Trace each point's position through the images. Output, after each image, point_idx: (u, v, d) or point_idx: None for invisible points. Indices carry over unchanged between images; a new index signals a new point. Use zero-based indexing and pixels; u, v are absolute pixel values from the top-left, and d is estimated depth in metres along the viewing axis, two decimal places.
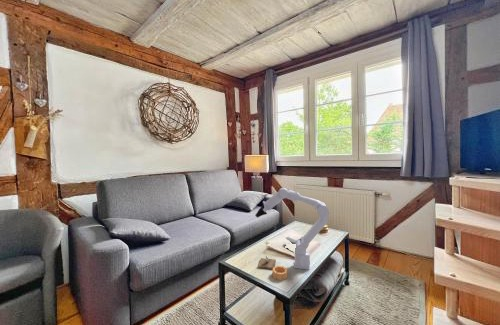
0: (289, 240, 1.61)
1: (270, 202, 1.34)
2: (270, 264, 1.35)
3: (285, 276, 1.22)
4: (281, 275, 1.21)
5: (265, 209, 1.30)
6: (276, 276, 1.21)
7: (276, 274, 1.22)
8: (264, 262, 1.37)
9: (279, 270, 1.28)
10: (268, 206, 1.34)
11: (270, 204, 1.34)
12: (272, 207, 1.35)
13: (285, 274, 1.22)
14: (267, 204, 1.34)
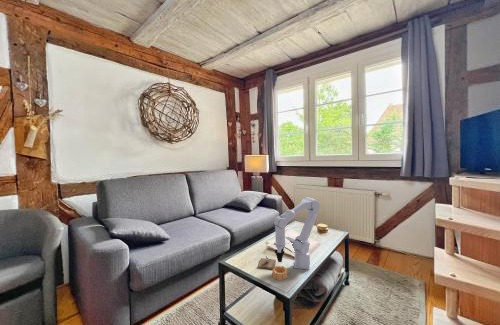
0: (289, 240, 1.62)
1: (278, 239, 1.25)
2: (270, 264, 1.35)
3: (285, 276, 1.22)
4: (281, 275, 1.21)
5: (279, 250, 1.20)
6: (276, 276, 1.21)
7: (276, 274, 1.22)
8: (264, 262, 1.37)
9: (279, 270, 1.28)
10: (280, 244, 1.25)
11: (280, 241, 1.24)
12: (284, 241, 1.25)
13: (285, 274, 1.22)
14: (278, 243, 1.25)
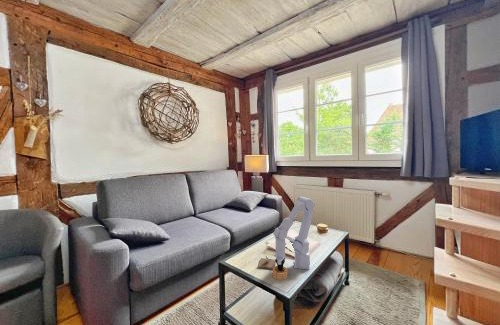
0: (289, 239, 1.62)
1: (278, 251, 1.25)
2: (270, 264, 1.35)
3: (285, 276, 1.22)
4: (281, 275, 1.21)
5: (279, 262, 1.21)
6: (276, 276, 1.22)
7: (276, 274, 1.22)
8: (264, 262, 1.37)
9: None
10: (280, 255, 1.25)
11: (280, 252, 1.25)
12: (284, 253, 1.26)
13: (285, 274, 1.22)
14: (278, 255, 1.26)
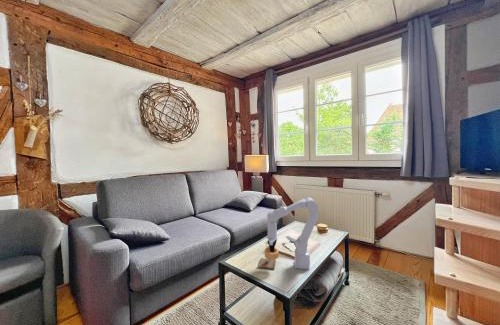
0: (289, 239, 1.63)
1: (270, 233, 1.32)
2: (270, 264, 1.35)
3: (276, 256, 1.29)
4: (273, 255, 1.27)
5: (270, 242, 1.27)
6: (268, 256, 1.28)
7: (268, 254, 1.28)
8: (264, 262, 1.37)
9: None
10: (272, 237, 1.32)
11: (271, 234, 1.32)
12: (276, 234, 1.33)
13: (276, 254, 1.28)
14: (270, 236, 1.32)
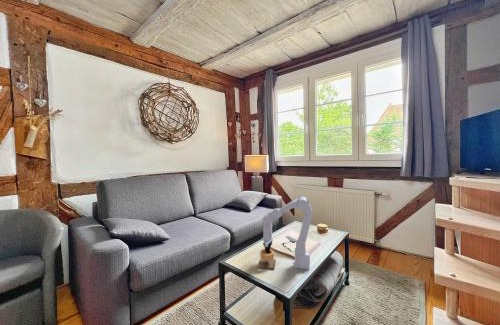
0: None
1: (265, 235, 1.37)
2: (270, 264, 1.35)
3: (272, 257, 1.33)
4: (268, 256, 1.32)
5: (266, 244, 1.32)
6: (263, 257, 1.33)
7: (263, 255, 1.33)
8: (264, 262, 1.37)
9: (266, 253, 1.40)
10: (267, 239, 1.36)
11: (267, 236, 1.36)
12: (271, 236, 1.37)
13: (272, 255, 1.33)
14: (265, 238, 1.37)
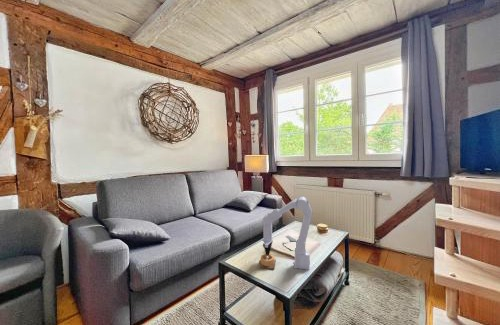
0: None
1: (265, 235, 1.37)
2: None
3: (272, 263, 1.34)
4: (268, 262, 1.33)
5: (266, 245, 1.32)
6: (264, 262, 1.34)
7: (263, 261, 1.34)
8: None
9: None
10: (267, 240, 1.36)
11: (267, 237, 1.36)
12: (271, 237, 1.37)
13: (272, 261, 1.34)
14: (265, 239, 1.37)
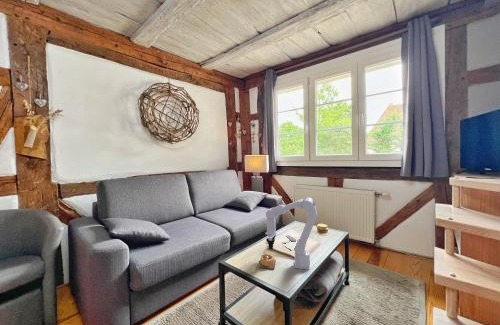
0: (288, 238, 1.64)
1: (269, 229, 1.38)
2: None
3: (272, 263, 1.34)
4: (268, 262, 1.33)
5: (270, 238, 1.34)
6: (264, 262, 1.34)
7: (263, 261, 1.34)
8: None
9: None
10: (271, 233, 1.38)
11: (271, 230, 1.38)
12: (275, 231, 1.39)
13: (272, 261, 1.34)
14: (269, 232, 1.38)
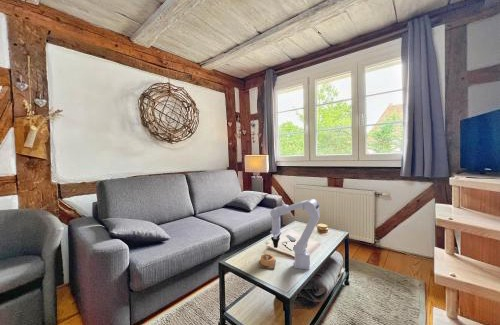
0: (288, 238, 1.65)
1: (274, 228, 1.41)
2: None
3: (272, 263, 1.34)
4: (268, 262, 1.33)
5: (275, 236, 1.36)
6: (264, 262, 1.34)
7: (263, 261, 1.34)
8: None
9: None
10: (276, 232, 1.40)
11: (275, 229, 1.40)
12: (279, 229, 1.41)
13: (272, 261, 1.34)
14: (274, 231, 1.41)
